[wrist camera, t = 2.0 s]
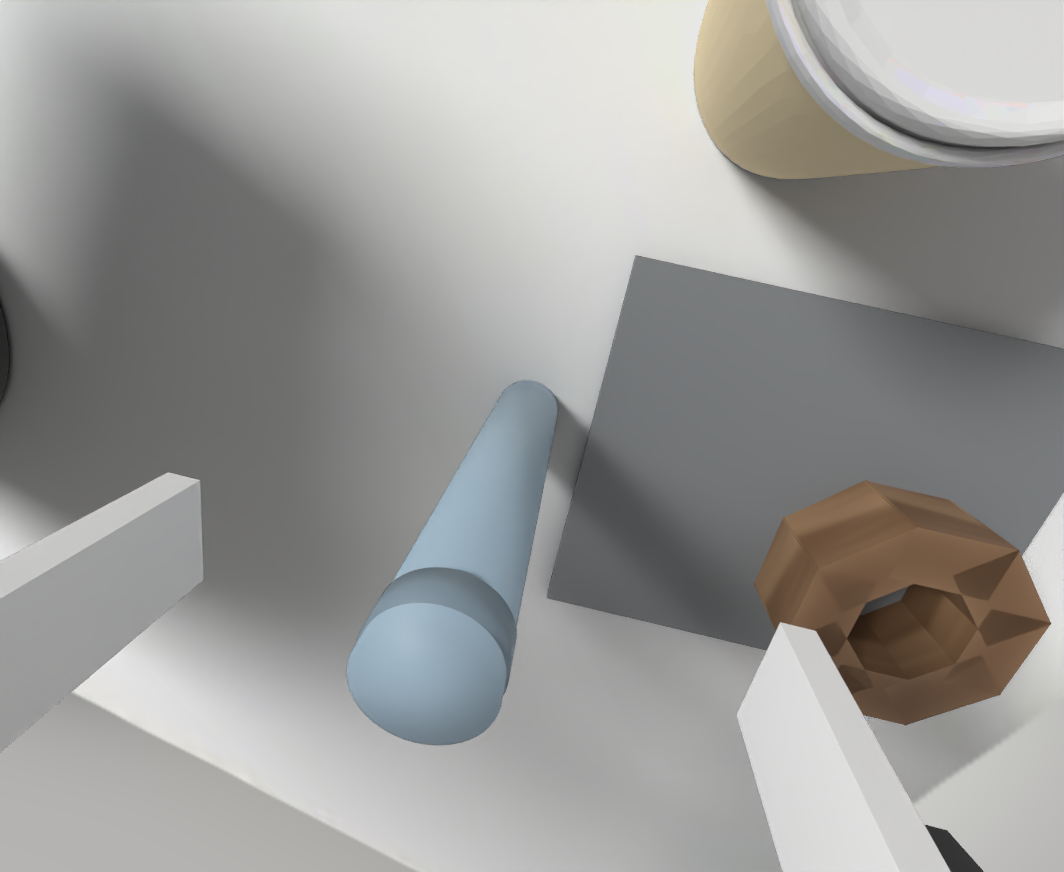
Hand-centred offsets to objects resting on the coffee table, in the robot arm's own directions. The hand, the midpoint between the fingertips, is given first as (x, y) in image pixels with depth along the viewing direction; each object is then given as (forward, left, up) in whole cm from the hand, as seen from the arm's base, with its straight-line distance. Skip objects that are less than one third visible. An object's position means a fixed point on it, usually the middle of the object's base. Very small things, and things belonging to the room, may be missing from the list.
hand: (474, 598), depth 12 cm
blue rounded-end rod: (0, 0, -13) cm, 13 cm away
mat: (+13, -1, -13) cm, 18 cm away
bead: (+17, -4, -13) cm, 21 cm away
